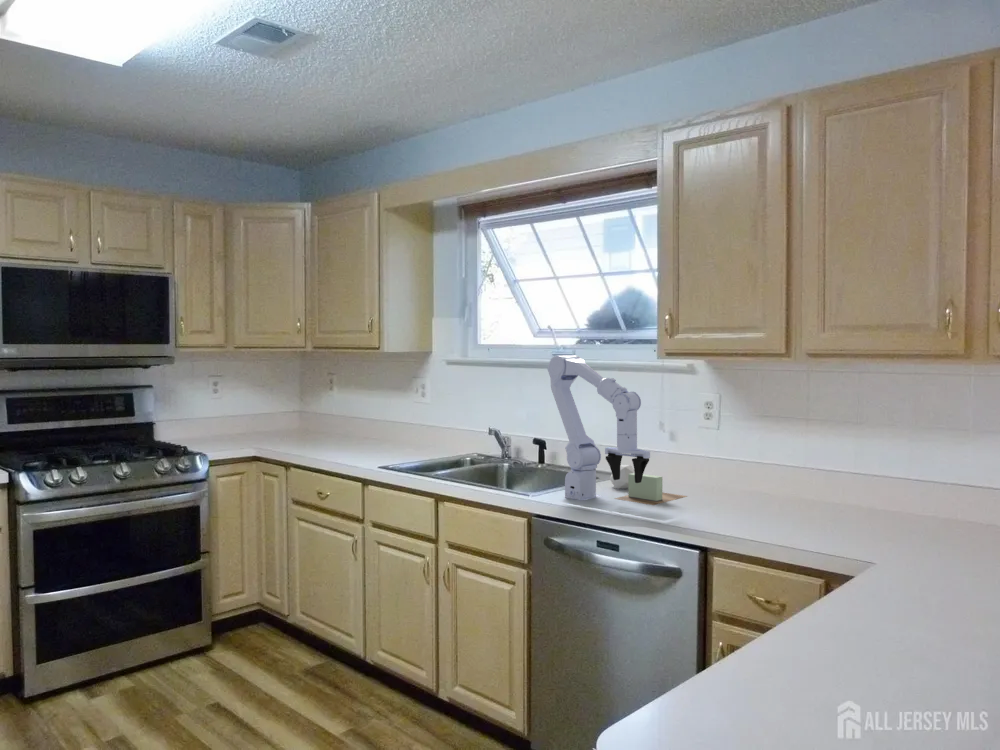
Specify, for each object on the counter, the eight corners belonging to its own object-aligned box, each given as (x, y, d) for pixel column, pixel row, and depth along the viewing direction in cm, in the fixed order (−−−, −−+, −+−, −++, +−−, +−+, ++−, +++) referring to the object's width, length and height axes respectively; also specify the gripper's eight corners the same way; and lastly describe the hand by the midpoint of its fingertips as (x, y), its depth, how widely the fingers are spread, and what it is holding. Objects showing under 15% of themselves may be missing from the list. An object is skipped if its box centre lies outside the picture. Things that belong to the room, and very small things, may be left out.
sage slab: (656, 501, 224) (656, 477, 224) (628, 497, 231) (628, 474, 231) (662, 500, 226) (662, 476, 226) (634, 495, 233) (634, 472, 233)
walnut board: (653, 507, 219) (653, 505, 219) (614, 500, 229) (613, 498, 229) (687, 498, 232) (687, 496, 232) (648, 492, 242) (648, 490, 242)
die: (630, 494, 242) (644, 468, 244) (606, 480, 243) (620, 455, 246) (626, 499, 249) (640, 474, 252) (603, 485, 251) (616, 460, 254)
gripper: (656, 434, 219) (656, 482, 220) (615, 431, 230) (615, 476, 230) (641, 436, 214) (642, 485, 215) (600, 433, 225) (600, 479, 225)
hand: (627, 481), depth 222 cm, fingers open, 7 cm apart
